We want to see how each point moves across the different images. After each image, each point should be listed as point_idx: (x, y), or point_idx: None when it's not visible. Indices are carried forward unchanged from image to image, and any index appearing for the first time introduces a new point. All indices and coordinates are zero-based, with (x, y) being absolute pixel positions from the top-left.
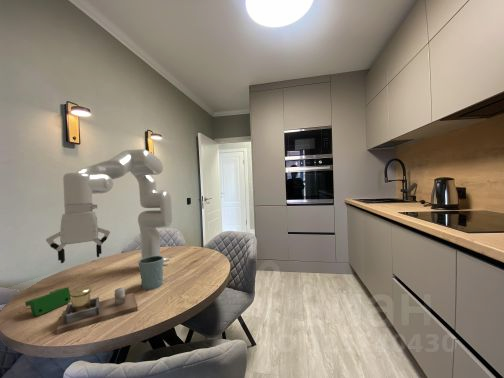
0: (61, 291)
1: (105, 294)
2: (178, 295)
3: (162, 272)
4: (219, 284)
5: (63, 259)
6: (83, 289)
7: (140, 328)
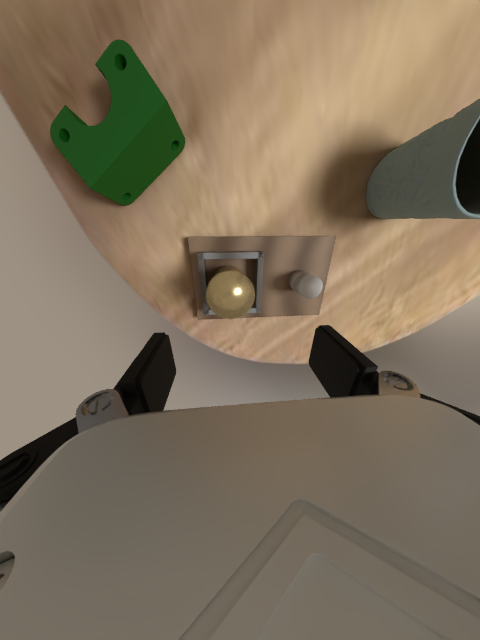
0: (151, 127)
1: (276, 155)
2: (393, 295)
3: (457, 193)
4: (472, 297)
5: (172, 383)
6: (237, 296)
7: (302, 361)
